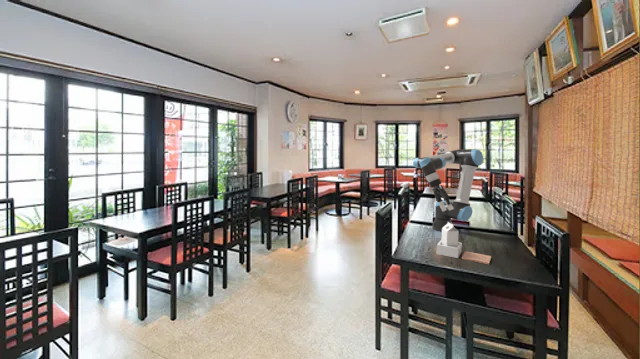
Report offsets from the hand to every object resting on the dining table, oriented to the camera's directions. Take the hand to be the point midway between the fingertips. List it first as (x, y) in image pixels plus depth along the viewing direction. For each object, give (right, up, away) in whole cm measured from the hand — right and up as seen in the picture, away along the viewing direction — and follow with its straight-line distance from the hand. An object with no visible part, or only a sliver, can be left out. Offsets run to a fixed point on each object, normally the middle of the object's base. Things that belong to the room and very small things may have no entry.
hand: (447, 210), depth 184 cm
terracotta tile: (+10, -27, -15) cm, 32 cm away
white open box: (-2, -26, -7) cm, 27 cm away
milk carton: (-2, -26, -7) cm, 27 cm away
